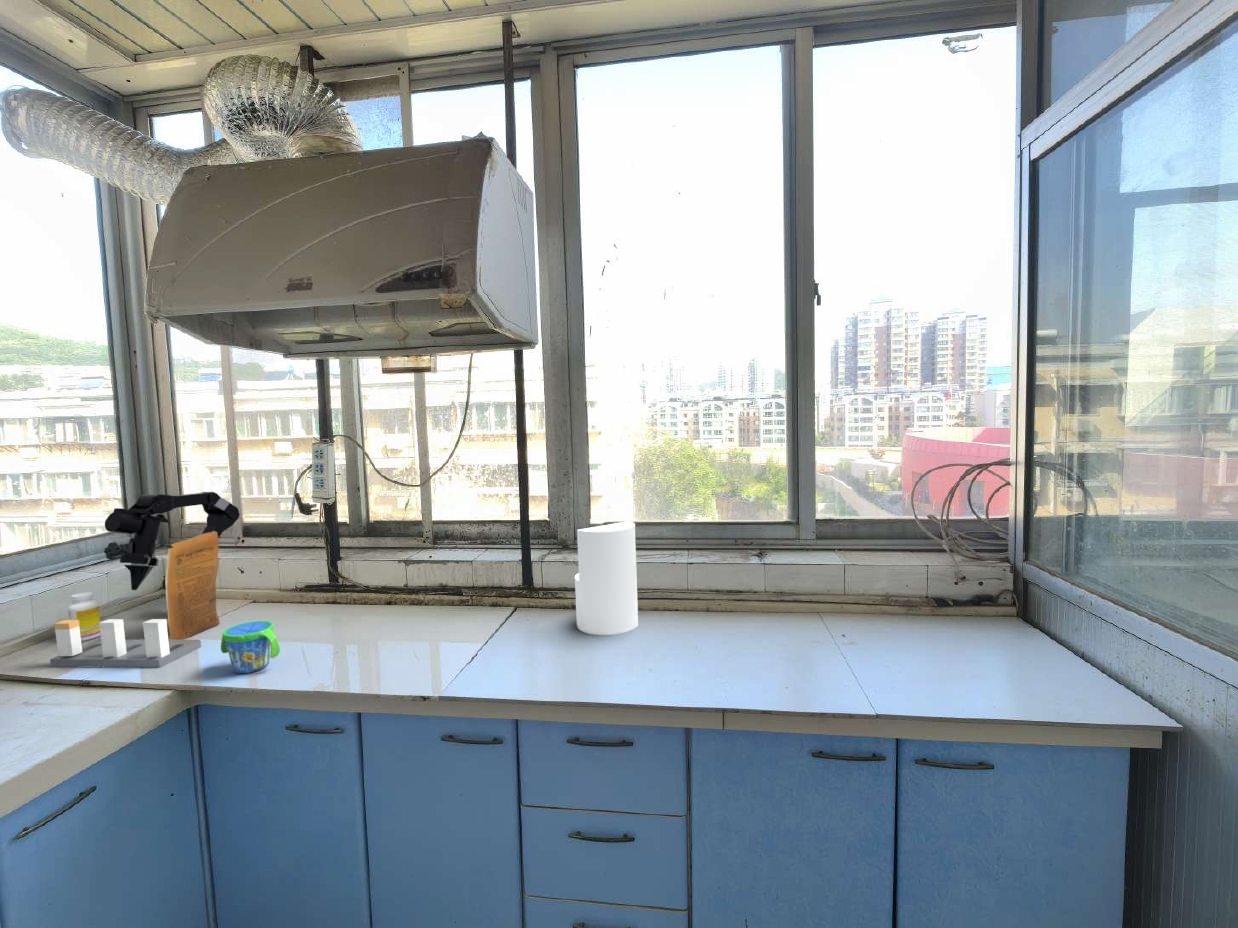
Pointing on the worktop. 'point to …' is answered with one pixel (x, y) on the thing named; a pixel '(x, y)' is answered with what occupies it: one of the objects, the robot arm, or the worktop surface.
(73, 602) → the supplement bottle
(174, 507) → the robot arm
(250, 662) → the snack cup
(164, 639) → the grey plate with uprights
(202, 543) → the pancake mix bag
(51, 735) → the worktop surface
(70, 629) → the block
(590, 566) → the cylinder
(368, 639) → the worktop surface
